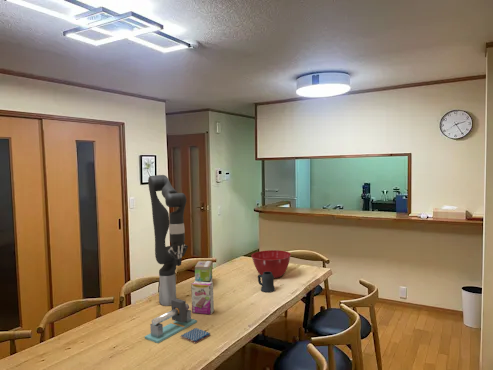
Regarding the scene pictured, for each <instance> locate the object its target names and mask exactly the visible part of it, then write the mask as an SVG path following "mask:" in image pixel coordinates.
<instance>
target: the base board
mask: <svg viewBox="0 0 493 370" xmlns="http://www.w3.org/2000/svg"><path fill="white" fill-rule="evenodd" d="M197 322H198V320H197V319H195V318H191V321H190V322H188V323H186V322H183V323H181V322H178V321H175V320H173V321H172V322H170V323H169V324H166V325H163V336H162V337H160V338H156V337H153V336H151V332H150V333H148V334H146V335H145V336H144V340H148V341H151V342H153V343H155V344H160V343H161V342H163V341H165V340H167V339H168V338H170V337H172V336H174V335H176V334H178V333H179V332H182V331H183V330H186V329H187V328H189V327H190V326H193V325H194V324H196V323H197Z"/></svg>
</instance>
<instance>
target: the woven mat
mask: <svg viewBox="0 0 493 370" xmlns="http://www.w3.org/2000/svg"><path fill="white" fill-rule="evenodd" d="M210 336H211V332H210V331H207V330H206V331H205V330H203V329H201V328H197V327H195V328H193V329H191V330H189V331H187V332H184V333H183V334H181V336H180V338H181V339H182V340H184V341H188V342H190V343H192V344H194V345H195V344H197V343H199V342H201V341H203V340H205V339H206V338H208V337H210Z"/></svg>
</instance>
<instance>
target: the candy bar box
mask: <svg viewBox="0 0 493 370" xmlns="http://www.w3.org/2000/svg"><path fill="white" fill-rule="evenodd" d="M190 287H191V288H190V289H191V290H190V291H191V314H201V315H209V316H210V315H212V314H213V313H214V312H215V308H214V306H215V304H214V302H215V300H214V282H213V281H212V282H199V281H195V280H194V281H193V282H192V283H191V286H190Z"/></svg>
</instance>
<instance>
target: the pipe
mask: <svg viewBox="0 0 493 370" xmlns="http://www.w3.org/2000/svg"><path fill="white" fill-rule="evenodd" d="M178 314H179V308H175V309H173V310H172V309H170V310H169V311H167V312H165V313H163V314H161V315H158V316H156V317H154V318H152V319H151V323H150V326H149V327H150V333H151V336H153V337H156V338H160V337H162V336H163V327H164V325H163V322H165V321H167V320H169V319H172V317H173V316H175V315H178ZM191 319H192V309H190V305H189V304H188V303H187V302H186V321H185V322H186V323H188V322H190V321H191Z"/></svg>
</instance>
